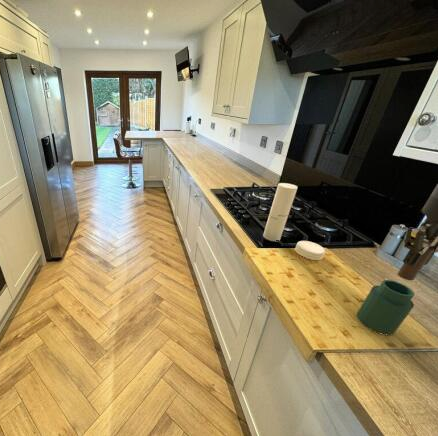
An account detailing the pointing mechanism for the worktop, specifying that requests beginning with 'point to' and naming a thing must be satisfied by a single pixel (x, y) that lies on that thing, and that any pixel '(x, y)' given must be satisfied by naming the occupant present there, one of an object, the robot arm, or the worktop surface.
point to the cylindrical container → (279, 211)
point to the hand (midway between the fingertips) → (414, 263)
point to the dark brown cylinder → (412, 271)
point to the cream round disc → (310, 250)
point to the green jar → (386, 307)
